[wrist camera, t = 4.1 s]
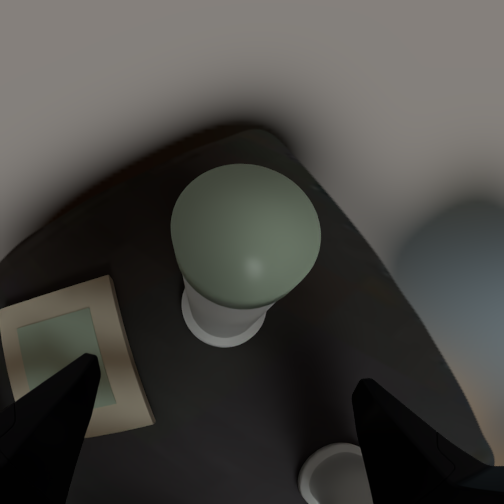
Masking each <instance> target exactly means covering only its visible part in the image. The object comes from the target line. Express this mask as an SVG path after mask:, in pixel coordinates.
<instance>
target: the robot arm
mask: <svg viewBox="0 0 504 504" xmlns="http://www.w3.org/2000/svg"><path fill="white" fill-rule="evenodd" d="M100 379H101V370H100V366H99V361H98V357H97V356H96V355H94V354H90V353H84V354H83V355H81V356H80V357H78V358H77V359H75V360H74V361H72V362H71V363H70V364H68V365H67V366H65V367H64V368H62V369H61V370H60V371H58V372H57V373H55V374H54V375H52V376H51V377H50V378H48V379H47V380H45V381H44V382H42V383H41V384H40V385H38V386H37V387H35V388H34V389H32V390H31V391H30V392H28V393H27V394H25V395H24V396H23V397H21V398H20V399H18V400H17V401H15V403H13V404H11V405H10V406H8V407H7V408H5V409H4V410H2V411H1V412H0V504H65V503H66V499H67V495H68V491H69V487H70V484H71V480H72V477H73V473H74V470H75V466H76V463H77V460H78V456H79V453H80V450H81V447H82V444H83V440H84V437H85V434H86V431H87V428H88V425H89V423H90V420H91V416H92V413H93V409H94V404H95V400H96V395H97V391H98V387H99V383H100ZM352 404H353V411H354V418H355V425H356V432H357V437H358V441H359V445H360V449H361V453H362V457H363V461H364V465H365V469H366V474H367V478H368V482H369V487H370V491H371V496H372V500H373V504H504V466H490V465H486V464H484V463H482V462H480V461H479V460H477V459H476V458H474V457H472V456H471V455H469V454H468V453H466V452H464V451H463V450H461V449H460V448H458V447H457V446H455V445H454V444H453V443H451V442H450V441H449V440H447V439H446V438H445V437H443V436H442V435H441V434H440V433H438V432H436V430H434V429H433V428H432V427H431V426H429V425H428V424H427V423H426V422H425V421H423V420H422V419H421V418H420V417H418V416H417V415H416V414H415V413H413V412H412V411H411V410H410V409H408V408H407V407H406V406H405V405H404V404H402V403H401V402H400V401H399V400H397V399H396V398H395V397H394V396H393V395H391V394H390V393H389V392H388V391H387V390H385V389H384V388H383V387H382V386H380V385H379V384H378V383H377V382H376V381H374V380H373V379H371V378H366V379H361V380H360V381H359V383H358V385H357V386H356V388H355V390H354V392H353V394H352Z"/></svg>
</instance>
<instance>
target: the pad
mask: <svg viewBox="0 0 504 504" xmlns="http://www.w3.org/2000/svg"><path fill="white" fill-rule="evenodd" d="M0 332H1V338H2V345H3V350H4V356H5V361H6V366H7V371H8V375H9V379H10V384H11V388H12V391H13V395H14V399H15V401H17V400H18V399H20V398H21V397H23V396H24V395H25V394H27V393H28V392H30V391H31V390H32V389H34V388H35V387H37V386H38V385H40V384H41V383H42V382H44V381H45V380H47V379H48V378H50V377H51V376H52V375H54V374H55V373H57V372H58V371H60V370H61V369H62V368H64V367H65V366H67V365H68V364H70V363H71V362H72V361H74V360H75V359H77V358H78V357H80V356H81V355H83V354H84V353H90V354H94V355H96V356H97V357H98V361H99V366H100V370H101V379H100V383H99V387H98V391H97V395H96V400H95V404H94V409H93V413H92V416H91V420H90V423H89V425H88V428H87V431H86V434H85V437H84V438H89V437H95V436H100V435H106V434H111V433H116V432H121V431H126V430H131V429H135V428H140V427H144V426H148V425H152V424H154V423H155V422H156V420H155V417H154V415H153V412H152V410H151V407H150V405H149V402H148V399H147V397H146V394H145V391H144V388H143V385H142V383H141V380H140V377H139V374H138V371H137V368H136V365H135V361H134V358H133V355H132V352H131V349H130V345H129V342H128V338H127V335H126V331H125V328H124V324H123V320H122V316H121V312H120V308H119V304H118V300H117V296H116V292H115V287H114V283H113V279H112V278H111V277H110V276H109V275H106V276H102V277H99V278H96V279H93V280H90V281H86V282H83V283H80V284H77V285H74V286H70V287H67V288H64V289H61V290H58V291H55V292H51V293H48V294H45V295H42V296H39V297H36V298H33V299H30V300H27V301H24V302H21V303H18V304H14V305H11V306H8V307H5V308H2V309H0Z"/></svg>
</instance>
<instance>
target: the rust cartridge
mask: <svg viewBox="0 0 504 504" xmlns="http://www.w3.org/2000/svg"><path fill="white" fill-rule="evenodd" d="M297 483H298V489H299V492H300V494H301V496H302V497H303V498H304V499H305V500H306V501H307V503H309V504H373V500H372V496H371V491H370V487H369V482H368V478H367V474H366V469H365V465H364V461H363V457H362V453H361V449H360V447H358V446H356V445H353V444H350V443H345V442H339V443H332V444H329V445H326V446H324V447H322V448H320V449H318V450H317V451H316V452H314V453H313V454H312V455H311V456H310V457H309V458H308V459H307V460H306V461H305V463H304V464H303V466H302V467H301V469H300V472H299V475H298V480H297Z"/></svg>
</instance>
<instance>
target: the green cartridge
mask: <svg viewBox="0 0 504 504" xmlns="http://www.w3.org/2000/svg"><path fill="white" fill-rule="evenodd" d="M171 237H172V242H173V247H174V251H175V256H176V260H177V263H178V266H179V269H180V271H181V273H182V275H183V280H184V284H185V289H184V292H183V295H182V313H183V317H184V319H185V322H186V324H187V326H188V328H189V329H190V331H191V332H192V333H193V334H194V335H195V336H196V337H197V338H198V339H199V340H201V341H202V342H204V343H206V344H208V345H211V346H215V347H221V348H228V347H234V346H237V345H240V344H242V343H244V342H246V341H247V340H249V339H250V338H251V337H253V336H254V335H255V334H256V333H257V332H258V330H259V329H260V327H261V326H262V324H263V322H264V319H265V316H266V311H267V310H268V309H269V308H270V307H271V306H272V305H273V304H274V303H275V302H277V301H278V300H280V299H281V298H283V297H284V296H285V295H287V294H288V293H289V292H290V291H291V290H292V289H293V288H294V287H295V286H296V285H297V284H298V283H299V282H300V281H302V280H303V278H304V277H305V276H306V275H307V274H308V273H309V271H310V270H311V268H312V267H313V265H314V263H315V261H316V258H317V256H318V252H319V249H320V242H321V230H320V223H319V220H318V216H317V213H316V211H315V209H314V207H313V205H312V203H311V201H310V200H309V198H308V197H307V196H306V194H305V193H304V192H303V191H302V190H301V189H300V188H299V187H298V186H297V185H296V184H295V183H294V182H292V181H291V180H290V179H288V178H287V177H285V176H284V175H282V174H280V173H278V172H276V171H274V170H271V169H268V168H265V167H262V166H257V165H251V164H231V165H225V166H221V167H217V168H214V169H212V170H209V171H207V172H205V173H203V174H202V175H200V176H198V177H197V178H196V179H194V180H193V181H192V182H191V183H190V184H189V185H188V186H187V187H186V188H185V189H184V190H183V192H182V193H181V195H180V196H179V198H178V200H177V202H176V204H175V206H174V209H173V213H172V217H171Z"/></svg>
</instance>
